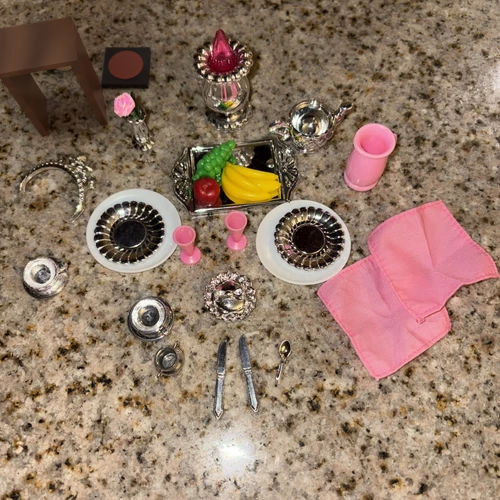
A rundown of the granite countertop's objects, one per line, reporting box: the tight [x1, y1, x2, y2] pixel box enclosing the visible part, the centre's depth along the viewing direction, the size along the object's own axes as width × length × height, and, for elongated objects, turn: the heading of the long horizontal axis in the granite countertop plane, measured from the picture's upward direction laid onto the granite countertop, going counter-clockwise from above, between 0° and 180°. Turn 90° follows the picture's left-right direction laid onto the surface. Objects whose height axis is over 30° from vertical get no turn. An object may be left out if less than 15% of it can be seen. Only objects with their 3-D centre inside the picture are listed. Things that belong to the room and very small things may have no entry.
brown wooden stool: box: [0, 16, 109, 138], centre depth 97 cm, size 14×10×20 cm
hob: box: [100, 46, 152, 89], centre depth 109 cm, size 10×10×2 cm
